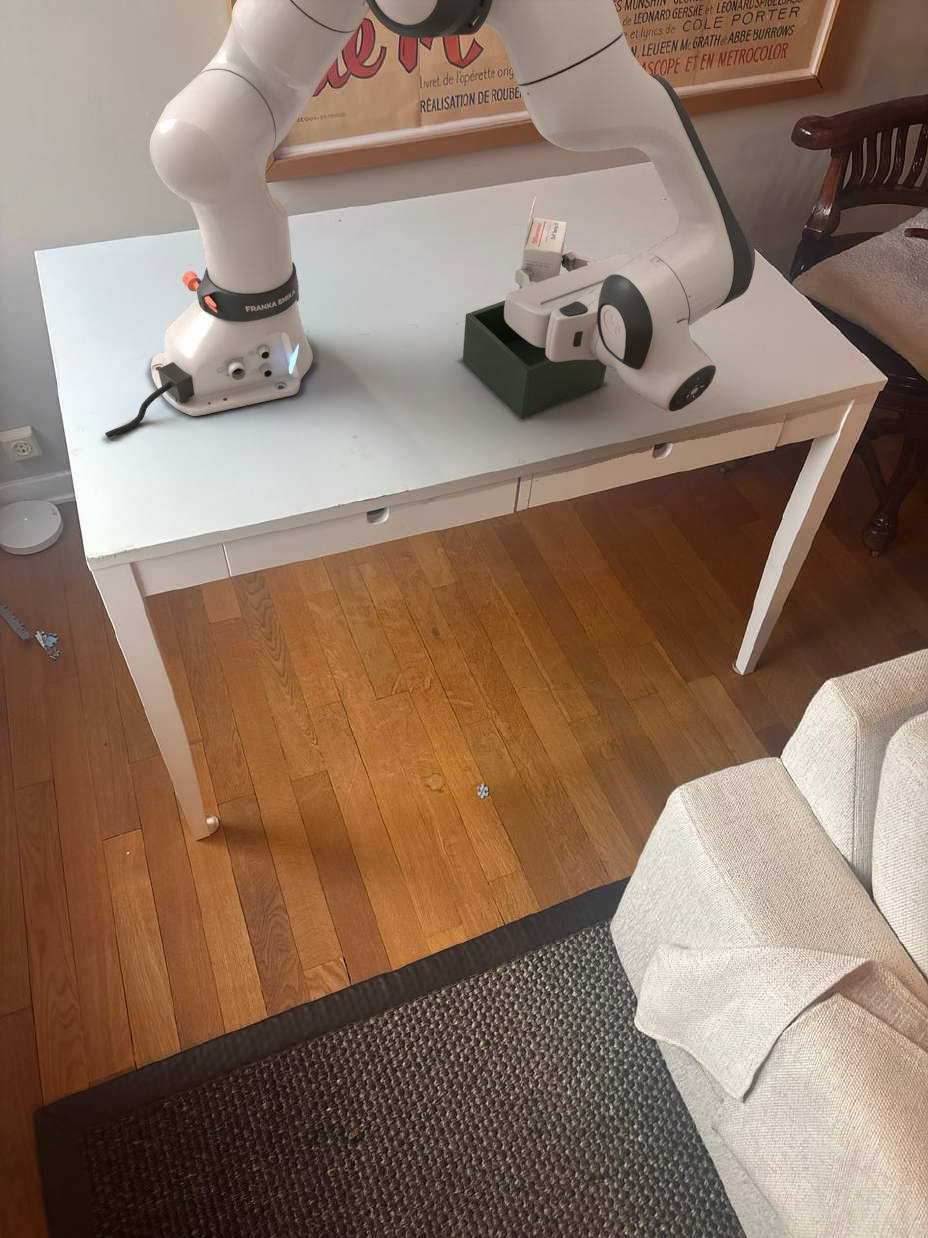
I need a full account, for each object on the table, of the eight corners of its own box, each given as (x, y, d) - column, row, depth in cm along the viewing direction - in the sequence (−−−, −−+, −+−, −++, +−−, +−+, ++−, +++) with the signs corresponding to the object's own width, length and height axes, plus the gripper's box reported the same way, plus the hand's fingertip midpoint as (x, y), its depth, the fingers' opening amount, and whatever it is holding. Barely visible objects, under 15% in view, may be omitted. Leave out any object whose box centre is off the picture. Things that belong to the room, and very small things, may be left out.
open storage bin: (521, 418, 133) (527, 371, 127) (462, 361, 140) (465, 313, 134) (602, 384, 139) (612, 338, 132) (542, 331, 146) (549, 284, 139)
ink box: (549, 333, 131) (564, 230, 120) (514, 328, 132) (525, 225, 120) (557, 299, 137) (571, 198, 126) (522, 294, 137) (533, 193, 126)
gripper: (677, 274, 121) (608, 222, 128) (547, 322, 113) (481, 264, 120) (666, 317, 126) (600, 265, 133) (541, 366, 118) (478, 308, 125)
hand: (542, 265), depth 127 cm, fingers closed on ink box, 6 cm apart
